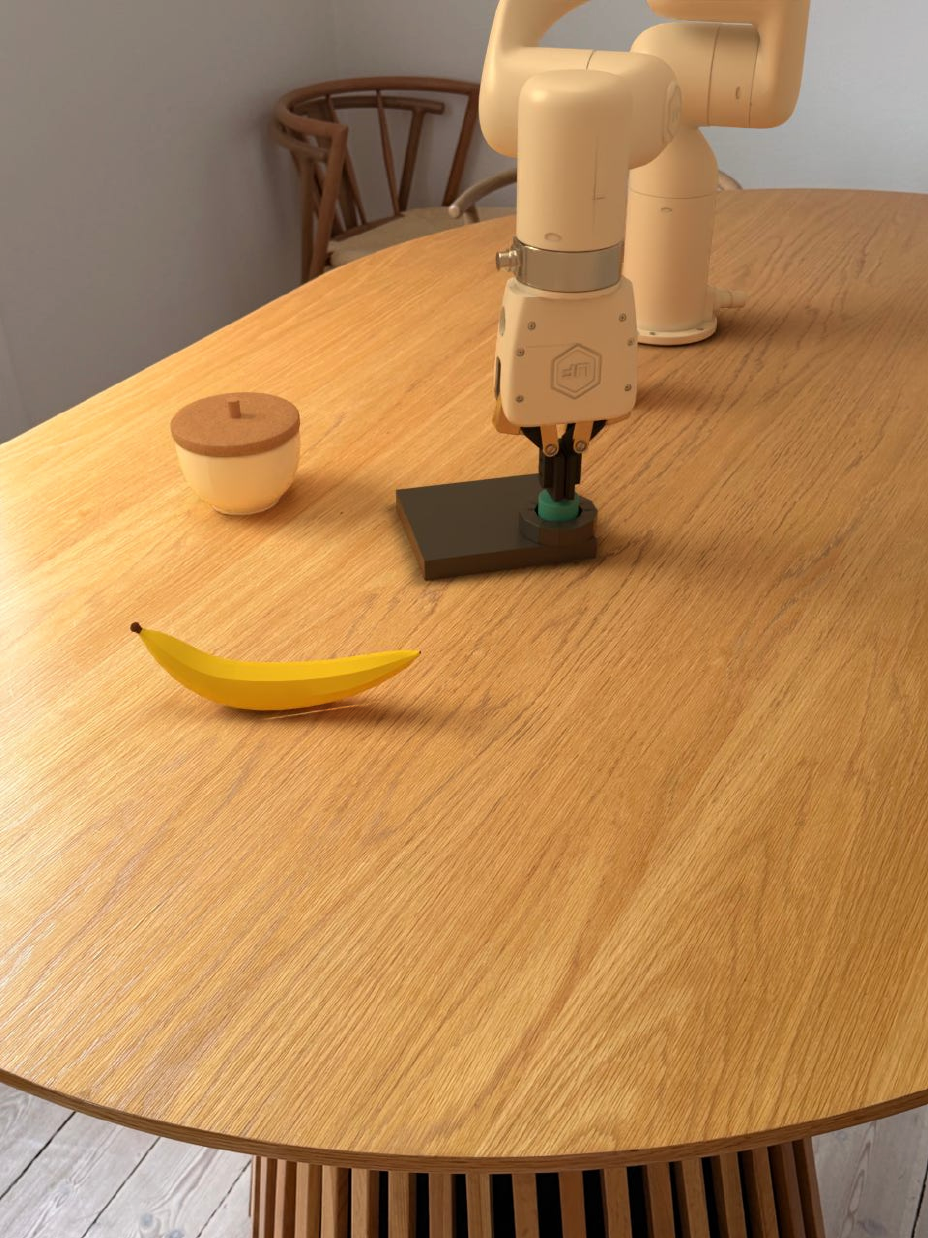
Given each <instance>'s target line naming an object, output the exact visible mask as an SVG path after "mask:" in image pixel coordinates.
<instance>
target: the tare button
mask: <svg viewBox="0 0 928 1238" xmlns="http://www.w3.org/2000/svg"><path fill="white" fill-rule="evenodd" d="M579 496H580V495H579V494H578V492H576V491H575V498H574V500H569V501H567V500H566V499H564V498H563V500H561V501H560V502H554V501H553V500H552V498H551V497H550V495H549V493H548V492H547V490H544V491H542V492H541V493H540V494H539V506H538V514H539V516H540V517H541V518H543V519H545V520H548V521H555V522H565V521H571V520H573V519H575V518H577V517H578V511H579Z"/></svg>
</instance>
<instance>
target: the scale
mask: <svg viewBox="0 0 928 1238" xmlns="http://www.w3.org/2000/svg"><path fill="white" fill-rule="evenodd" d="M544 490H546V489H545V488H543V489H542V487H541V486H540V484H539V478H538V472H535V473H527V474H526V473H525V474H519V475H509V476H501V477H492V478H484V479H476V480H466V481H459V482H451V483H442V484H441V483H440V484H433V485H424V486H417V487H416V486H415V487H407V488H398V489H395V503H396V504H395V505H396V511H397V514H398V516H399V519H400V521H401V524H402V526H403V528H404V531H405V534H406V536H407V539H408V541H409V544H410V547H411V550H412V551H413V554H414V557H415V559H416V562H417V564H418V567H419V569H420V572H421V574H422V577H423V579H424V581H425V582H428V581H434V580H442V579H448V578H456V577H457V578H458V577H465V576H471V575H473V576H474V575H480V574H488V573H495V572H503V571H509V570H516V569H517V570H519V569H525V568H532V567H539V566H549V565H555V564H556V565H557V564H562V563H570V562H577V561H585V560H593V559H596V557H597V545H598V543H597V542H598V538H597V536H596V535H595V533H596V531H597V528H598V517H599V510H598V508H597V507H596V505H595V504H594V502H593V501H592V500H591V499H588V498H586V497H583V496H581V495H579V511H578V517H577V518H575V519H573V520H571V521H565V522H555V521H548V520H545V519H543V518H541V517H540V516H539V514H538V506H539V494H540V493H541V492H542V491H544Z"/></svg>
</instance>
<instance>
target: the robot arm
mask: <svg viewBox="0 0 928 1238" xmlns="http://www.w3.org/2000/svg"><path fill="white" fill-rule="evenodd" d="M590 1H592V0H499V1H498V4H497V7H496V9H495V13H494V17H493V21H492V25H491V29H490V34H489V39H488V43H487V44H488V45H487V49H486V54H485V57H484V62H483V68H482V74H481V79H480V87H479V95H478V119H479V126H480V130H481V133H482V135H483V137H484V139H485V141H486V143H487V145H488V146H489V147H490V148H491V149H493V151H495V152H497V154H499V155H502V156H504V157H507V158H512V159H517V160H516V161H517V167H516V168H517V169H516V219H515V220H516V221H515V222H516V224H515V225H516V226H515V227H516V228H515V236H512V244H511V247H510V248H506V250H504V251H496V253H495V266H496V270H497V271H498V272H503V271H504V272H506V271H507V273H512V274H513V275H514V276H513V277H510V278H508V279H507V281H506V284H505V288H504V292H503V296H502V301H501V306H500V311H499V312H500V313H499V318H498V324H497V331H496V340H495V351H494V363H493V394H494V398H495V401H496V403H495V408H494V410H493V414H492V419H491V424H492V426H493V427H494V429H495V430H496V432H498V434H504V435H511V436H512V435H513V436H524V437H525V438H526V439H528V440H529V441H530V442H531V443H532V444H534V445H535V446H536V447H537V448H538V472H537V473H538V478H539V484H540V486H541V487H542V489H543V488H545V489H546V490H547V492H548V493H549V495H550V497H551V498H552V500H553V501H554V502H560V501H561V500H563V498H564V499H566V500H567V501H569V500H574V498H575V492H576V485H580V484H581V479H582V464H583V463H582V458H583V454H584V453H585V452H587V450H588V449H589V446H590V442H591V441H593V439H594V438H595V437H597V435H598V434H599V433H600V432H601V431H602V430H603V429H604V428H605V427H606V426H607V427H609V426H611V425H614V424H617V423H620V422H624V421H626V420H628V419H630V418H631V415H632V410H633V409H634V407H635V404H636V401H637V394H638V377H639V363H638V362H639V353H638V352H639V351H638V348H639V347H638V344H644V345H645V344H646V345H653V346H654V345H655V346H680V345H688V344H693V343H698V342H700V341H703V340H705V339H708V338H710V337H711V336H712V335H713V334H714V333H716V329H717V327H718V318H717V315H716V314H715V313H719V312H720V310H721V309H730V310H731V309H740V308H745V307H746V304H747V294H746V291H745V290H743V289H742V290H731V291H729V290H727V288H726V286H715V287H711V286H710V285H708V281H709V272H710V264H711V263H710V262H711V253H712V244H713V234H714V226H715V217H716V209H717V208H716V206H717V197H718V189H719V180H720V179H719V178H720V172H719V171H720V170H719V164H718V160H717V157H716V154H715V152H714V150H713V149H712V146H711V145H710V144H709V142H708V140H707V139H706V137H705V136H704V134H703V132H702V130H701V129H700V128H701V127H704V128H705V127H706V128H707V127H708V128H709V127H721V128H739V129H759V130H760V129H762V130H763V129H773V128H777V127H780V126H782V125H783V124H785V122H787V121H788V120H789V119H790V118H791V117H792V115H793V113H794V111H795V109H796V107H797V103H798V100H799V96H800V91H801V87H802V80H803V79H802V78H803V72H804V64H805V54H806V47H807V45H806V44H807V36H808V28H809V17H810V10H811V0H645V1H646V4H647V6H648V8H649V10H651V11H652V12H653V14H656V15H657V16H659V17H662V18H665V19H667V20H668V19H669V20H675V21H671V22H664V23H658V24H656V25H653V26H650V27H648V28H646V29H644V30H643V31H642V32H641V33H640V34H639V35H638V36H637V37H636V39H634V41H633V43H632V44H631V47H630V50H629V51H619V50H618V51H617V50H615V51H614V50H598V49H589V48H588V49H587V48H567V47H566V48H565V47H547V46H545V47H544V46H539V43H540V42H541V41H542V39H543V37H544V36H545V34H546V33H547V32H548V31H549V30H550V29H551V28H552V27H553V25H555V24H556V23H557V22H558V21H559V20H560V19H562V18H563V17H564V16H565V15H567V14H569V13H570V12H573V10H575V9H576V8H579V7H580V6H582V5H584V4H586V3H589V2H590ZM637 330H638V331H639V338H638V344H637ZM558 425H563V430H562V435H561V437H558V429H557V426H558Z"/></svg>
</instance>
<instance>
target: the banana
mask: <svg viewBox="0 0 928 1238" xmlns="http://www.w3.org/2000/svg"><path fill="white" fill-rule="evenodd" d="M129 628H130V632H132V633H136V634H137V635H139V638H140V639H141V641H142V643H143V644H144V646H145V648H146V650H147V651H148V653H150V655H151V656H152V657H153V658H154V660H155V661H156V662H157V663H158V665H160V666H161V668H163V669H164V671H165V672H167V674H169V675H170V676H171V678H173V679H174V680H176V681H177V682H178V683H179V684H180V685H182V686H183V687H184V688H185V689H187V690H189V691H191V692H193V693H194V694H196V695H198V696H199V697H201V698H204V699H206V700H208V701H211V702H214V703H216V704H219V705H224V706H226V707H227V706H228V707H230V708H235V709H244V710H252V711H254V710H255V711H283V710H285V711H286V710H293V709H301V708H308V707H314V706H319V705H320V706H321V705H324V704H330V703H333V702H339V701H340V700H345V699H349V698H352V697H354V696H357V695H359V694H361V693H363V692H366V691H369V690H371V689H373V688H376V687H377V686H379V685H381V684H382V683H385V682H386V681H388V680H390V679H392V678H394V677H396V676H397V675H398V674H400V673H401V672H403V671H404V670H405V669H407V668H409V667H410V666H411V665H412V663H413V662H414V661H415V660H416V659H417V658H419V657H420V656H421V654H422V651H421V650H419V649H416V650H413V649H406V648H405V649H397V650H395V649H394V650H387V651H378V652H372V653H364V654H358V655H351V656H343V657H337V658H328V659H317V660H300V661H251V660H239V659H232V658H224V657H221V656H217V655H214V654H210V653H208V652H207V651H204V650H201V649H199V648H197V647H195V646H193V645H191V644H189V643H187V642H185V641H183V640H181V639H179V638H176V637H174V636H173V635H169V634H167V633H164V632H162V631H159V630H153V629H148V628H143V627H142V625H140V623H139V622H138V621H133V622H132V623H130V627H129Z"/></svg>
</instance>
